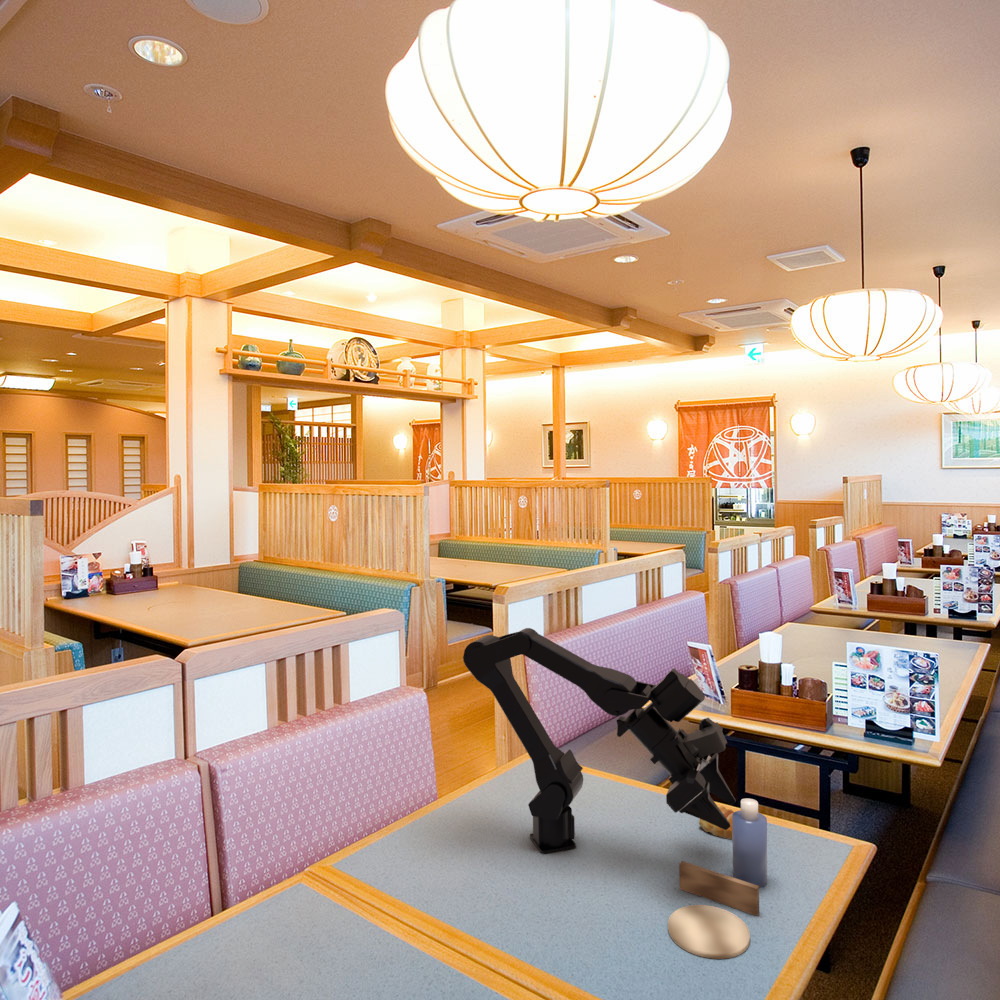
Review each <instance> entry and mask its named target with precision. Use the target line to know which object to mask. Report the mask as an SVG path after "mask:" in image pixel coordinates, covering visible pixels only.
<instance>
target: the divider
mask: <svg viewBox="0 0 1000 1000" xmlns="http://www.w3.org/2000/svg"><path fill="white" fill-rule="evenodd" d="M678 865H679V866H678V867H679V869H678V871H679V874H678V875H679V877H678V878H679V882H678V883H679V890H682V891H684V892H686V893H690V894H693V895H696V896H699V897H701V898H704V899H707V900H710V901H713V902H715V903H719V904H721V905H724V906H726V907H727V906H728V907H730V908H733V909H735V910H738V911H739V910H740V911H741V912H744V913H748V914H750V915H752V916H756V917H757V916H759V914H760V888H759V886H758V885H755V884H752V883H748V882H745V881H742V880H739V879H736V878H733V876H730V875H726V874H723V873H720V872H718V871H714V870H710V869H708V868H705V867H702V866H699V865H697V864H692V863H690V862H686V861H683V860H681V861H680V862H679V864H678Z"/></svg>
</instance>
